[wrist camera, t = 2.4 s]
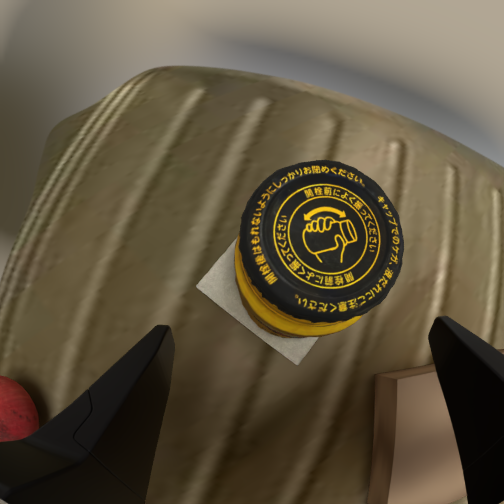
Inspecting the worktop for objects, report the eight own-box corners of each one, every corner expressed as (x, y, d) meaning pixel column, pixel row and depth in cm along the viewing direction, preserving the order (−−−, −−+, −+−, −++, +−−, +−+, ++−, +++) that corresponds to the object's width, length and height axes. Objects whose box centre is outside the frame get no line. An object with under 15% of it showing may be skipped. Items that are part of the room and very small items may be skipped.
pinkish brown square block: (475, 465, 16) (501, 476, 12) (365, 503, 16) (383, 526, 12) (485, 350, 19) (516, 348, 15) (373, 373, 19) (397, 379, 15)
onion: (66, 406, 18) (-4, 421, 10) (47, 453, 16) (-15, 476, 9) (20, 361, 19) (-49, 358, 11) (5, 409, 17) (-58, 416, 9)
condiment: (297, 365, 19) (353, 398, 7) (196, 286, 20) (124, 217, 9) (359, 278, 20) (458, 207, 9) (262, 207, 22) (267, 80, 10)
